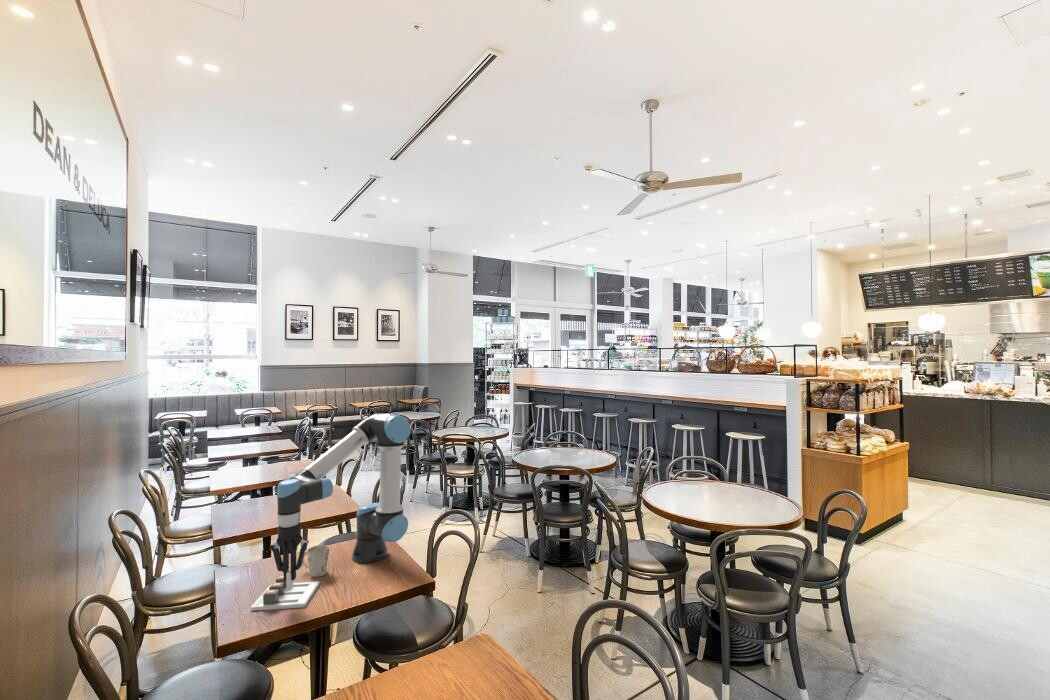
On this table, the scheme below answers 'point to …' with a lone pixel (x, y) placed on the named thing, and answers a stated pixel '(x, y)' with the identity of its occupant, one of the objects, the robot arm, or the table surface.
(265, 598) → the block
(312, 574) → the mug
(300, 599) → the panel
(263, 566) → the table surface
